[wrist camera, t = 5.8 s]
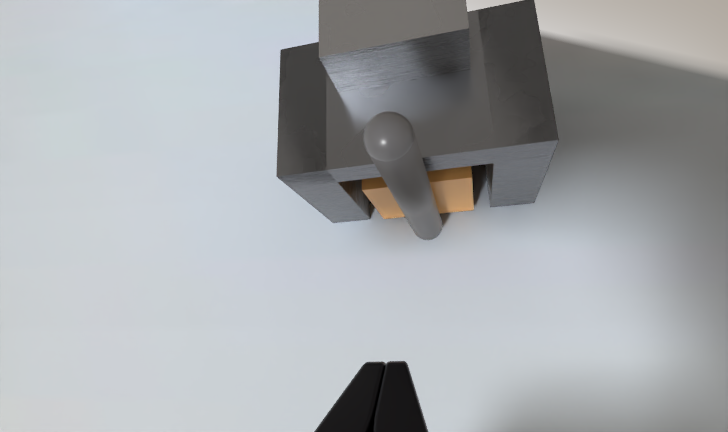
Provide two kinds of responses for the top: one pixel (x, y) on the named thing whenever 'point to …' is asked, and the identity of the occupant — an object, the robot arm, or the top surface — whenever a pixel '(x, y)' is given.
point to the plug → (411, 178)
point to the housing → (416, 97)
